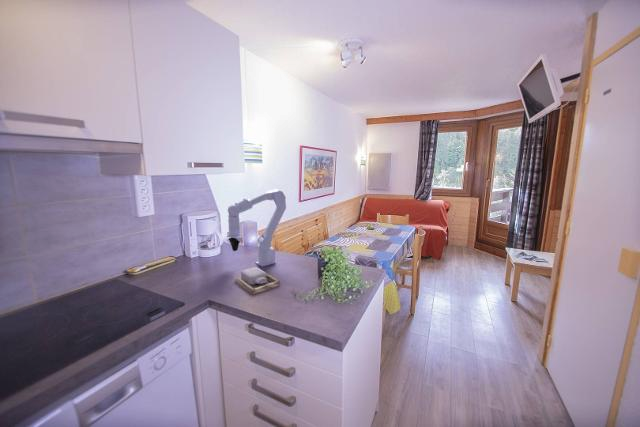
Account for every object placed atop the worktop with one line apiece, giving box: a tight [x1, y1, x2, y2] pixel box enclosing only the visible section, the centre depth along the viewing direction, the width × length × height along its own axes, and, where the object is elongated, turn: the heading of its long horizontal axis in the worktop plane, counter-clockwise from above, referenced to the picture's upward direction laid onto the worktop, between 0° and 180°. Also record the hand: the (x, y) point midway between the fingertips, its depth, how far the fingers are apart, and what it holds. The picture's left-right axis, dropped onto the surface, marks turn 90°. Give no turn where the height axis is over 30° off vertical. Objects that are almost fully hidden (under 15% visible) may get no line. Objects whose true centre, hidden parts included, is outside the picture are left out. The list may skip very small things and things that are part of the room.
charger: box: [240, 266, 269, 286], centre depth 128 cm, size 5×9×15 cm
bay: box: [234, 272, 281, 295], centre depth 127 cm, size 14×18×2 cm
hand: (235, 250), depth 145 cm, fingers closed
